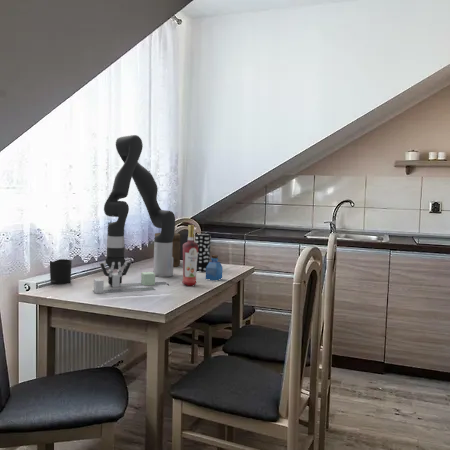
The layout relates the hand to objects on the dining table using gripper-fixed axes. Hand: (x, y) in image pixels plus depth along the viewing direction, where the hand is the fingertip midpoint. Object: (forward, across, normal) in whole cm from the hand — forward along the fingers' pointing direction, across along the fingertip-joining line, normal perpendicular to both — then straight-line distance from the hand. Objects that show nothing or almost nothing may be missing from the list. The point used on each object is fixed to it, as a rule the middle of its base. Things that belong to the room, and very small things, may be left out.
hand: (114, 284), depth 213 cm
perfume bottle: (+2, -51, -7) cm, 52 cm away
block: (0, -15, 0) cm, 15 cm away
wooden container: (+2, -41, -51) cm, 65 cm away
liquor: (+2, -34, +3) cm, 34 cm away
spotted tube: (+2, -54, -30) cm, 62 cm away
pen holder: (+2, +21, -17) cm, 27 cm away
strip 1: (+1, -2, +10) cm, 10 cm away
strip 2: (+1, -11, 0) cm, 11 cm away
